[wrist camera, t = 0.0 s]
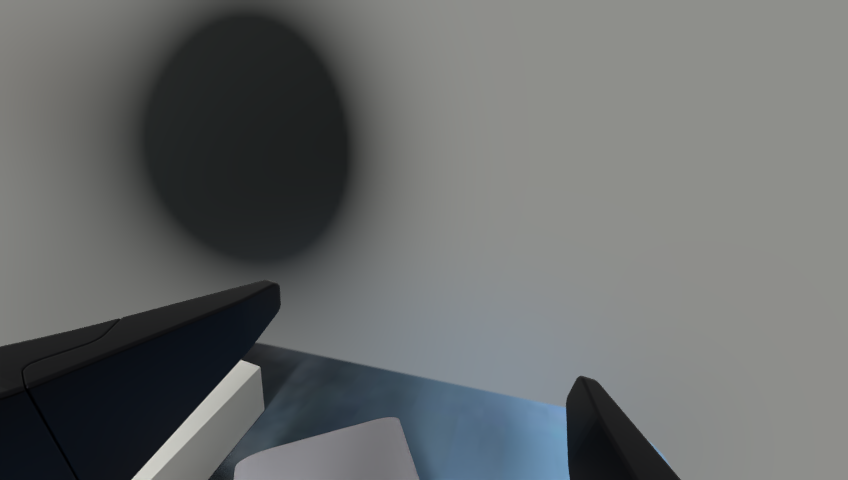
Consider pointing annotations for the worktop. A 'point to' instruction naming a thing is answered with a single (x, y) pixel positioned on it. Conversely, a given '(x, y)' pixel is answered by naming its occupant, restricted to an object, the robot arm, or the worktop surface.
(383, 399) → the worktop surface
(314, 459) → the charger
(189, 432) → the key console
